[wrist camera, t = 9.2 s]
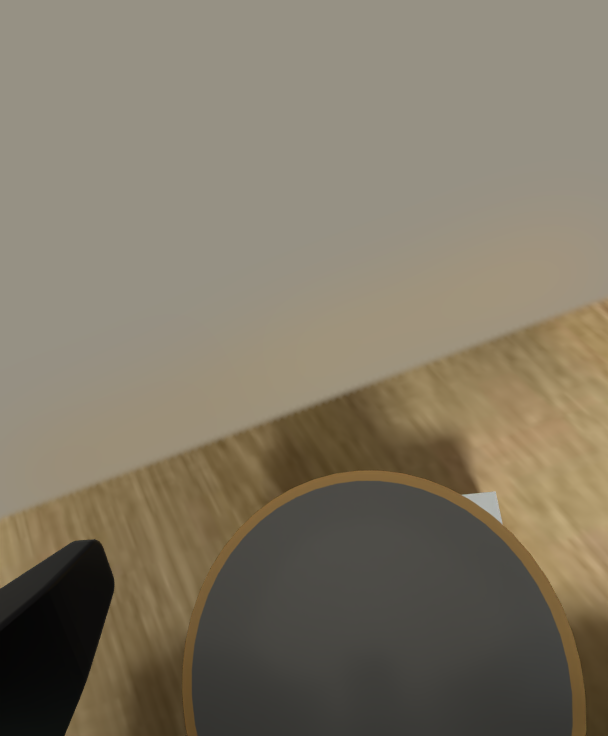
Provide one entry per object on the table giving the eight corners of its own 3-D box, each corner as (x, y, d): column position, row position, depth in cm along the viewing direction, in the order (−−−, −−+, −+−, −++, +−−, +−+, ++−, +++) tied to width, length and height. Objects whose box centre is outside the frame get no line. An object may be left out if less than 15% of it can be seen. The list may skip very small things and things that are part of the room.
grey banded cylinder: (484, 695, 16) (667, 907, 5) (341, 718, 16) (193, 963, 5) (445, 544, 18) (509, 436, 7) (317, 568, 18) (168, 505, 7)
